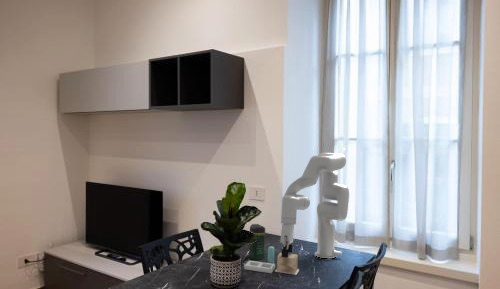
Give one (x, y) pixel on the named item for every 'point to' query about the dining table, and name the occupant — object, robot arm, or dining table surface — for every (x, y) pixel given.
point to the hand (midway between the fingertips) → (286, 254)
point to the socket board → (259, 266)
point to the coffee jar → (257, 242)
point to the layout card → (288, 273)
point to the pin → (271, 255)
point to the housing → (287, 263)
